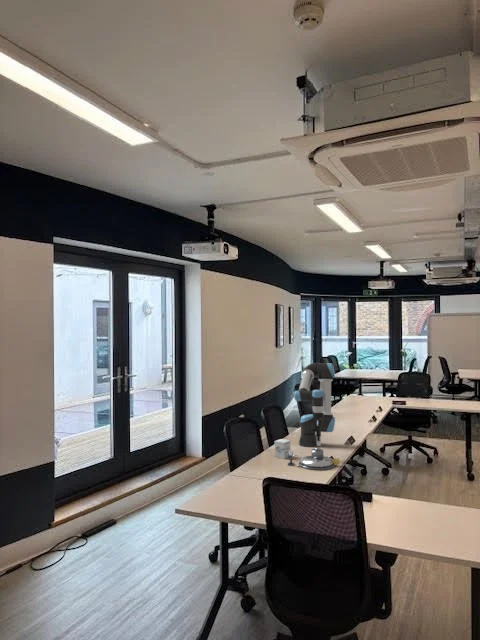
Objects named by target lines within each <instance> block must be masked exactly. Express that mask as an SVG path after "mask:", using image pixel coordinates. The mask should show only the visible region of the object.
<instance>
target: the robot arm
mask: <svg viewBox="0 0 480 640" xmlns="http://www.w3.org/2000/svg"><path fill="white" fill-rule="evenodd" d="M301 377H302V378H301V381H300V384H299V388H298V390H295V391H294V396H293V398H294V401H295V402H296V401H297V402H312V407H311V409H312V414H310V413H309V414H303V415H302V416H301V417H300V421H299V423H300V437H299V440H298V445H299V446H302V447H307V448H308V447H310V448H311V447H317V446H319V447H321V445H322V443H321V442H322V440H321V439H322V438H321V437H322V433H333V432H334V430H335V425H336V424H335V423H336V417H334V414H333V413H332V382H333V381H334V379H335V378H336V373H335V367H334V364H333V363H330V362H313V363H310V364H308V365H307V366H306V367H305V368H304V369H303V370H302V374H301ZM314 378H318V382H320V384H319V389H313V390H310V389H311V385H312V380H313V379H314Z"/></svg>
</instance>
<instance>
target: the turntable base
mask: <svg viewBox="0 0 480 640" xmlns="http://www.w3.org/2000/svg"><path fill="white" fill-rule="evenodd" d="M298 466H299V467H300V468H303V469H306V470H309V471H326V470H327V471H328V470H332V469H334V468H335V467H336V465H335V464H333V465H332V466H329V467H324V468H312V467H307V466H303V465H302V464H301V463H300V461H299V462H298Z"/></svg>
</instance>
